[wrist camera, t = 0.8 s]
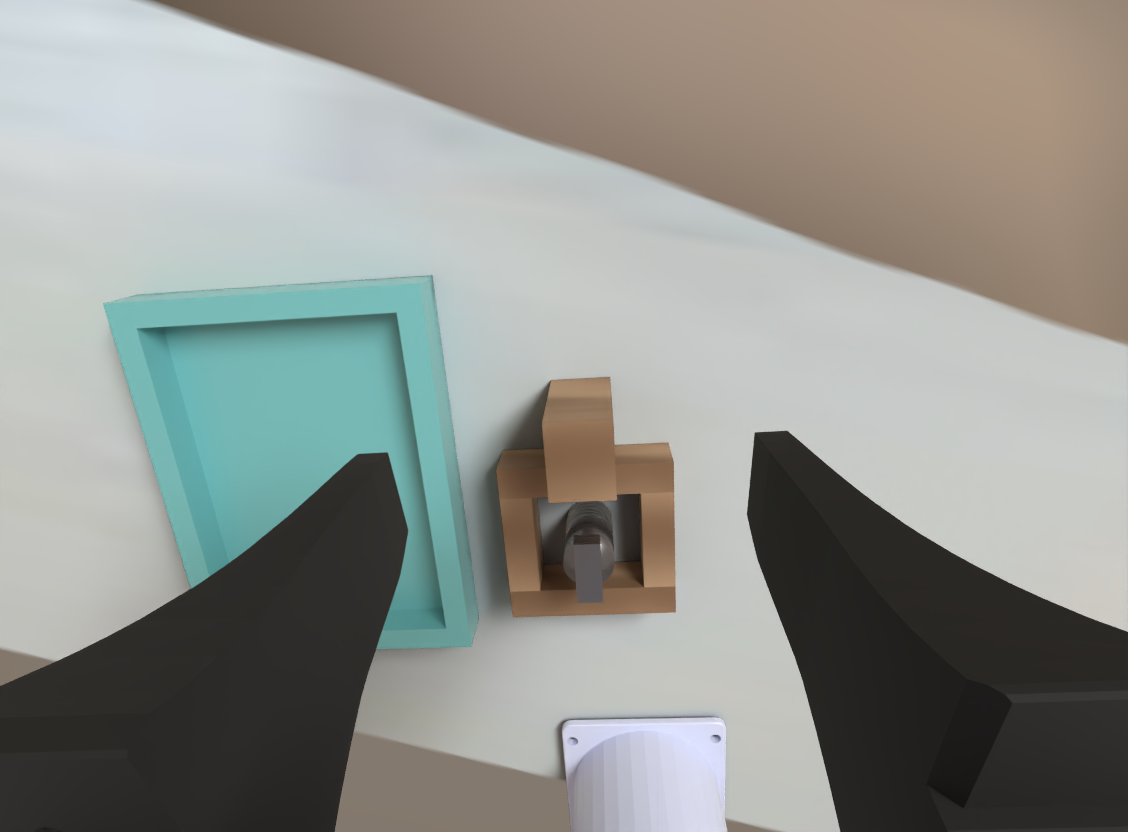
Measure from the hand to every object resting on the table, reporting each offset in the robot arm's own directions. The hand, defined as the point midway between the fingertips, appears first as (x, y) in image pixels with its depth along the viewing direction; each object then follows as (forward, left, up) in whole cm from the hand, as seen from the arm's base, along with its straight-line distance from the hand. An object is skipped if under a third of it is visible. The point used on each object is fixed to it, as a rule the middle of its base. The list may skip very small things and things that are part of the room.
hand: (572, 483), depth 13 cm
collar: (-7, 0, -14) cm, 16 cm away
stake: (-9, 0, -14) cm, 16 cm away
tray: (-6, +12, -14) cm, 19 cm away
